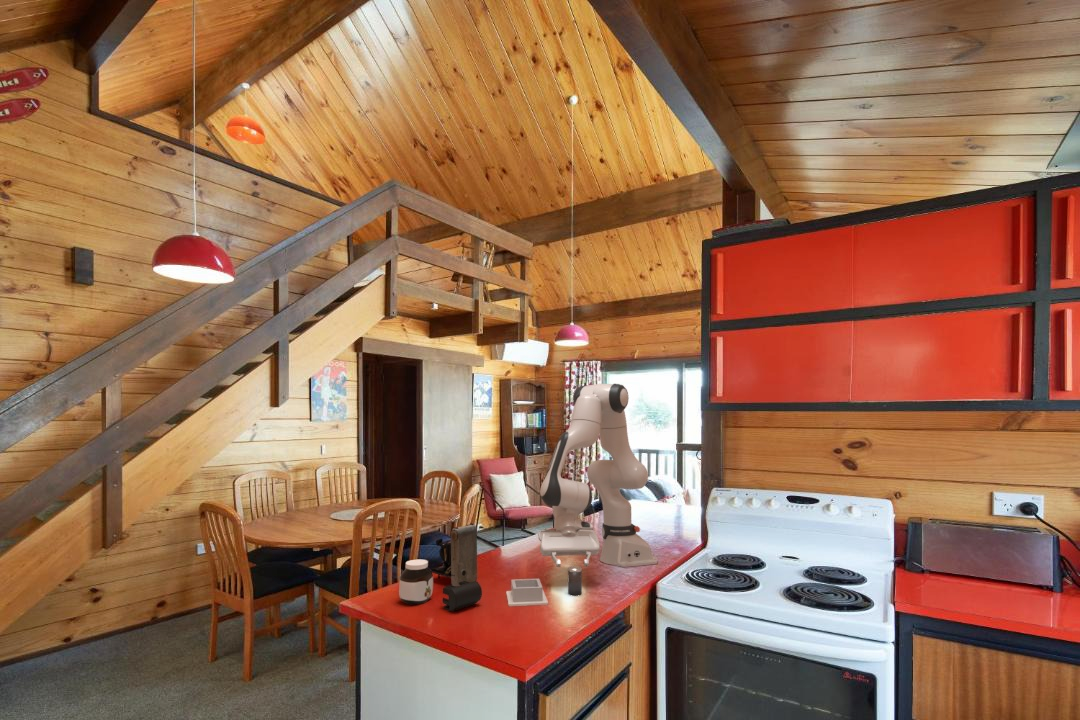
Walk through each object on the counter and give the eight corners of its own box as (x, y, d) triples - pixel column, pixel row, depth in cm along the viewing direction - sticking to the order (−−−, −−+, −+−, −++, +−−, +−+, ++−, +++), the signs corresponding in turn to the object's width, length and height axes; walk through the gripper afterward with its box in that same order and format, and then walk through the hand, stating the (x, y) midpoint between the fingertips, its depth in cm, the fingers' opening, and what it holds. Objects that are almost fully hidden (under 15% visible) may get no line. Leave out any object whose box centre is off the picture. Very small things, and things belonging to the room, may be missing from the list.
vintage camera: (446, 576, 194) (445, 519, 196) (478, 582, 185) (477, 523, 187) (426, 583, 186) (425, 524, 188) (458, 590, 177) (457, 528, 179)
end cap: (456, 615, 156) (456, 590, 156) (441, 609, 161) (441, 585, 161) (482, 606, 163) (482, 582, 164) (467, 600, 168) (467, 577, 169)
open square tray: (543, 591, 176) (543, 577, 176) (548, 604, 164) (548, 588, 164) (506, 593, 174) (506, 578, 175) (508, 606, 163) (508, 590, 163)
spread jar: (412, 608, 161) (413, 568, 162) (386, 601, 167) (387, 562, 168) (440, 596, 171) (441, 559, 172) (415, 590, 177) (416, 553, 178)
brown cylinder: (580, 591, 177) (580, 565, 177) (583, 595, 172) (583, 569, 173) (566, 591, 176) (566, 566, 177) (569, 596, 172) (569, 570, 172)
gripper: (538, 524, 185) (542, 561, 174) (597, 523, 187) (604, 560, 177) (537, 534, 189) (540, 571, 178) (594, 533, 191) (600, 570, 180)
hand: (572, 565), depth 177 cm, fingers open, 8 cm apart
